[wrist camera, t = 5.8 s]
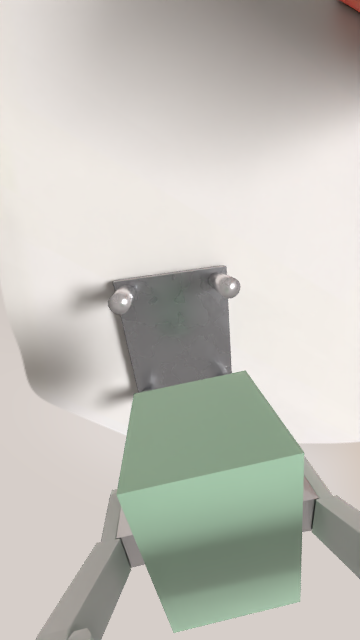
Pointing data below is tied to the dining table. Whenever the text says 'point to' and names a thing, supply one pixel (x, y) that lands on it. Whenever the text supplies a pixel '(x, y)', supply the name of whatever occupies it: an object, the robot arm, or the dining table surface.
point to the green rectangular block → (214, 499)
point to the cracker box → (352, 4)
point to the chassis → (176, 325)
